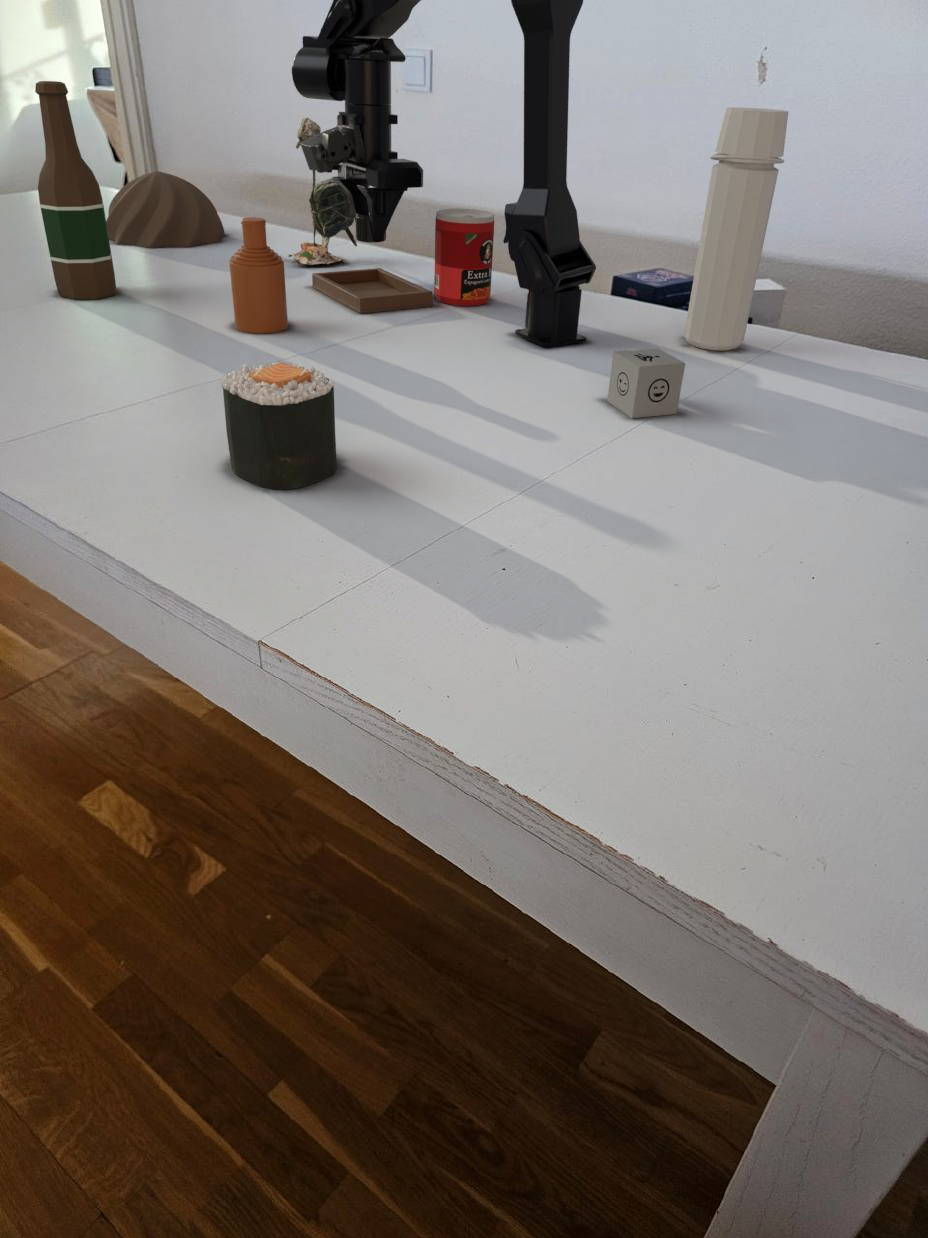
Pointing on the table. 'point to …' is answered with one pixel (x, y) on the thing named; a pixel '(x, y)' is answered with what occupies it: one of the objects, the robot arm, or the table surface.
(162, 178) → the decorative dome
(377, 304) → the tray
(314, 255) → the plant with pod
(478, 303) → the canned food
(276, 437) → the sushi
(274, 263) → the bottle
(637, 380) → the dice cube
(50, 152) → the beer bottle
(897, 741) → the table surface
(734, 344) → the water bottle
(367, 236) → the cap
